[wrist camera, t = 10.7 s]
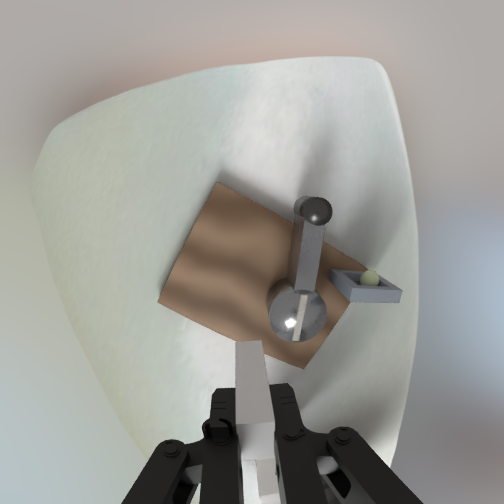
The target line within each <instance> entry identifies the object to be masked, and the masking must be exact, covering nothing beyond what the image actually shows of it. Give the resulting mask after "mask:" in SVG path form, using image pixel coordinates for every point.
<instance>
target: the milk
mask: <svg viewBox="0 0 504 504" xmlns="http://www.w3.org/2000/svg"><path fill="white" fill-rule="evenodd" d="M256 467H257V479H258V491H259V498H260V500H261V502H262V504H281V502H280V495H279V488H278V481H277V475H275V470H276V461H275V458H270V459H257V460H256Z"/></svg>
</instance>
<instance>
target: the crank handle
mask: <svg viewBox="0 0 504 504" xmlns="http://www.w3.org/2000/svg"><path fill="white" fill-rule="evenodd" d="M294 211H295V214H296V215H295V222H294V230H293V237H292V245H291V252H290V259H289V266H288V272H287V278H284V279H282V280H280V281H278V282H277V283H275V284H274V285H273V286H272V287H271V289H270V290H269V292H268V294H267V298H266V308H267V312H268V316H269V320H270V324H271V327H272V330H273V331H274V333H275V334H276V335H277V336H278V337H279V338H281V339H282V340H284V341H287V342H293V343H298V342H304V341H307V340H309V339H311V338H313V337H314V336H316V335H317V334H318V333H319V332H320V331H321V330H322V328H323V327H324V325H325V323H326V320H327V307H326V304H325V302H324V300H323V299H322V297H321V296H320V295H319V294H318V292H317V291H316V290H315V284H316V279H317V273H318V267H319V261H320V255H321V249H322V243H323V236H324V229H325V224H326V223H328V222H329V220H330V219H331V217H332V206H331V204H330V203H329V202H328V201H327V200H326V199H324V198H320V197H308V196H304V197H301V198H299V199H298V200H297V201H296V202H295V205H294Z"/></svg>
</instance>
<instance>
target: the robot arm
mask: <svg viewBox="0 0 504 504" xmlns="http://www.w3.org/2000/svg"><path fill="white" fill-rule="evenodd" d="M202 431H203V434H204V438H203V439H202V440H200V441H197V442H194V443H190V444H184V443H183V442H181V441H179V440H173V439H170V440H165V441H163V442H161V443H160V444H159V445H158V446H157V447H156V449H155V450H154V452H153V454H152V455H151V457H150V459H149V460H148V462H147V463H146V465H145V467H144V468H143V470H142V472H141V473H140V475H139V476H138V478H137V480H136V481H135V483H134V484H133V486H132V488H131V489H130V491H129V492H128V494H127V496H126V497H125V499H124V500H123V502H122V503H121V504H190V503H191V500H192V498H193V496H194V494H195V491H196V489H197V487H198V484H199V483H201V489H200V502H199V504H244V496H243V474H242V465H241V460H257V459H270V458H275V461H276V470H275V475H277V481H278V488H279V495H280V502H281V504H423V503H422V502H421V501H420V500H419V498H417V496H416V495H415V494H414V493H413V492H412V491H411V490H410V489H409V488H408V487H407V486H406V485H405V484H404V483H403V482H402V481H401V480H400V479H399V478H398V477H397V475H395V473H394V472H393V471H392V470H391V469H390V468H389V467H388V466H387V465H386V464H385V462H384V461H383V460H382V459H381V458H380V457H379V456H378V455H377V454H376V453H375V452H374V450H373V449H372V448H371V447H370V446H369V445H368V444H367V443H366V441H365V440H364V439H363V438H362V437H361V436H360V435H359V434H358V432H357V431H355V430H354V429H352V428H349V427H338V428H335V429H333V430H332V431H330V433H329V434H324V433H315V432H312V431H310V430H308V429H307V428H306V427H305V426H304V425H303V423H302V419H301V415H300V412H299V408H298V405H297V401H296V397H295V394H294V390H293V388H292V387H291V386H290V385H289V384H288V383H283V384H273V385H269V383H268V377H267V371H266V365H265V359H264V352H263V346H262V340H258V341H243V342H236V388H217V389H216V390H215V392H214V393H213V394H212V400H211V410H210V418H209V419H207V420H206V421H205V422H204V423H203V425H202Z"/></svg>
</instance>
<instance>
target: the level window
mask: <svg viewBox="0 0 504 504" xmlns="http://www.w3.org/2000/svg"><path fill="white" fill-rule="evenodd" d="M329 281H330V282H331V283H332V284H333V285H334V286H335V287H336V288H337V289H338V290H339V291H340V292H341V293H342V294H343V295H344V296H345V297H346V299H347V300H348V301H350V302H380V303H399V302H400V298H401V294H402V290H401V289H399V288H398V287H396V286H395V285H393V284H392V283H390V282H389V281H387V280H386V279H384V278H382V277H381V276H379V275H378V274H377V273H376V272H375V271H373V270H367V271H365V272H362V271H349V270H337V269H330V275H329Z"/></svg>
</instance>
